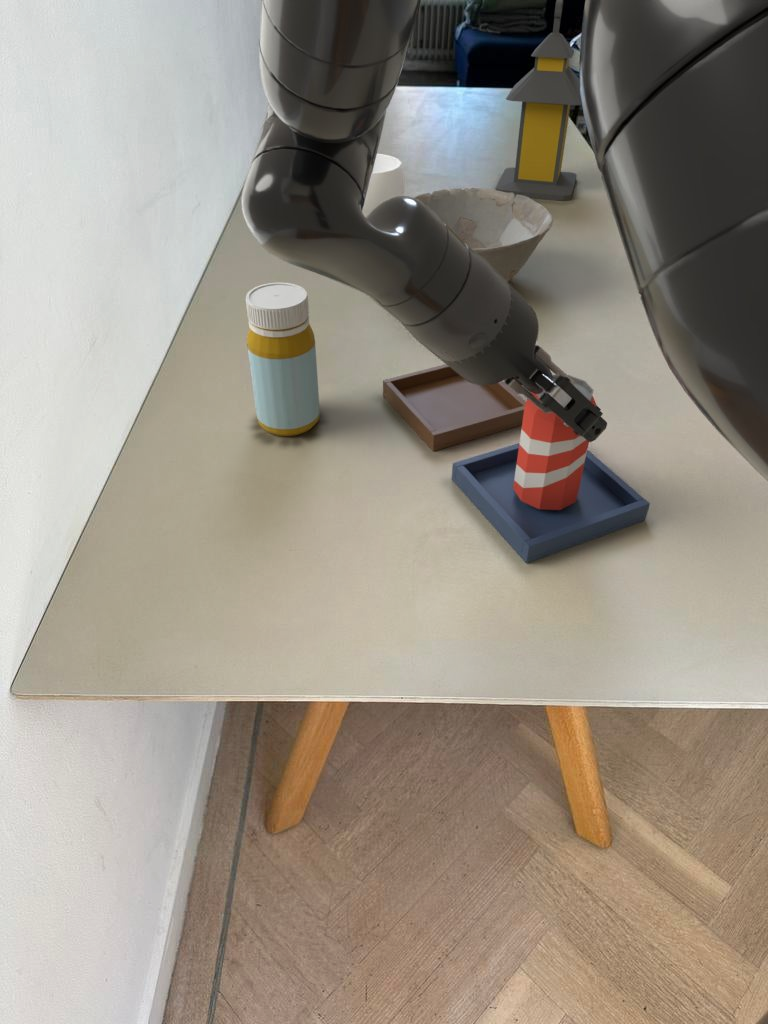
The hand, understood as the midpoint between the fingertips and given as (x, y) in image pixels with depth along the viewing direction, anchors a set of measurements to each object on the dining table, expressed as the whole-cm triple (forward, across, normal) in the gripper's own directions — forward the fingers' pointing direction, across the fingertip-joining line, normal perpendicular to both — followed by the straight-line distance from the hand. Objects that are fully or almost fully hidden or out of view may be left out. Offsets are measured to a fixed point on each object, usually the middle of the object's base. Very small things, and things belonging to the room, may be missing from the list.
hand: (567, 407), depth 68 cm
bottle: (-6, +24, +21) cm, 32 cm away
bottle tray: (+7, +18, +8) cm, 21 cm away
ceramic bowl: (+20, +47, -5) cm, 52 cm away
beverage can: (+7, 0, +8) cm, 10 cm away
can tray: (+7, 0, +8) cm, 11 cm away
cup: (+18, +76, -3) cm, 78 cm away
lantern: (+44, +79, -29) cm, 95 cm away
